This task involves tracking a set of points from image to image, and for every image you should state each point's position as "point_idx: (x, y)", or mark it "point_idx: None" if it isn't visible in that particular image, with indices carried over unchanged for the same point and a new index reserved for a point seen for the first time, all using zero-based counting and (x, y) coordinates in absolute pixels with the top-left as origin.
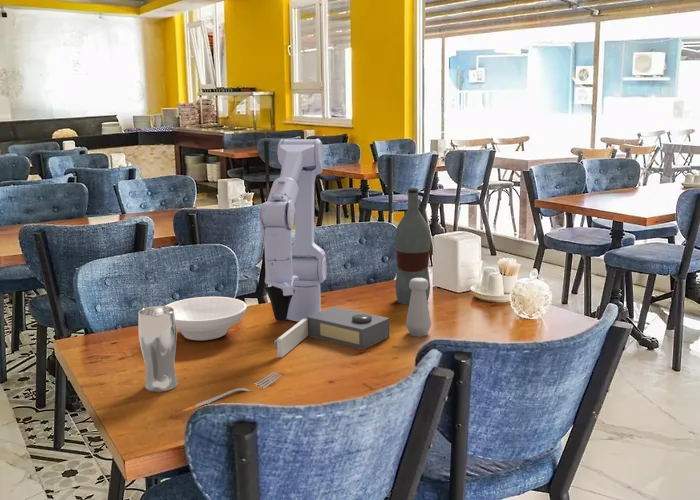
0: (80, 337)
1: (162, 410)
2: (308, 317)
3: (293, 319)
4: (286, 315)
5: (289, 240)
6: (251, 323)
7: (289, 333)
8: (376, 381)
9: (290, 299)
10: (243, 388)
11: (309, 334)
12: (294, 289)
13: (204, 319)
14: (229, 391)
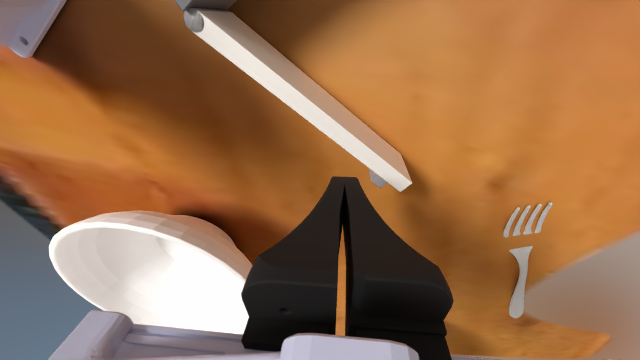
0: None
1: (492, 326)
2: (190, 3)
3: (51, 16)
4: (360, 187)
5: None
6: (103, 148)
7: (363, 143)
8: None
9: (400, 240)
10: (516, 255)
11: (228, 5)
12: (420, 281)
13: (137, 248)
14: (522, 278)
